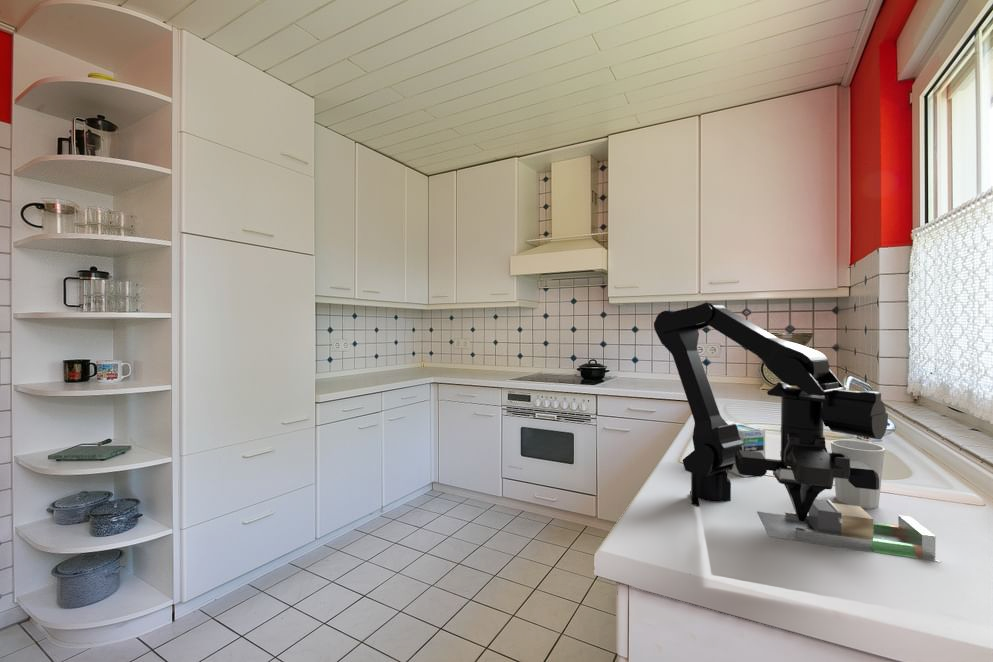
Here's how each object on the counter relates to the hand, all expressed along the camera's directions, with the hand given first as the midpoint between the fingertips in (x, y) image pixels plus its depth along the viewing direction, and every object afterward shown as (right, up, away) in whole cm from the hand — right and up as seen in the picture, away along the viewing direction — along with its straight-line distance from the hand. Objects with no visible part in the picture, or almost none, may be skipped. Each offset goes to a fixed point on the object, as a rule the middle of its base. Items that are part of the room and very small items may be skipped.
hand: (800, 520), depth 72 cm
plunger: (+3, -1, -1) cm, 3 cm away
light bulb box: (+8, -3, +34) cm, 35 cm away
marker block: (+6, -1, -2) cm, 7 cm away
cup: (+18, -3, +11) cm, 22 cm away
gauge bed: (+5, -3, -2) cm, 6 cm away
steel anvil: (+14, -1, -5) cm, 15 cm away
